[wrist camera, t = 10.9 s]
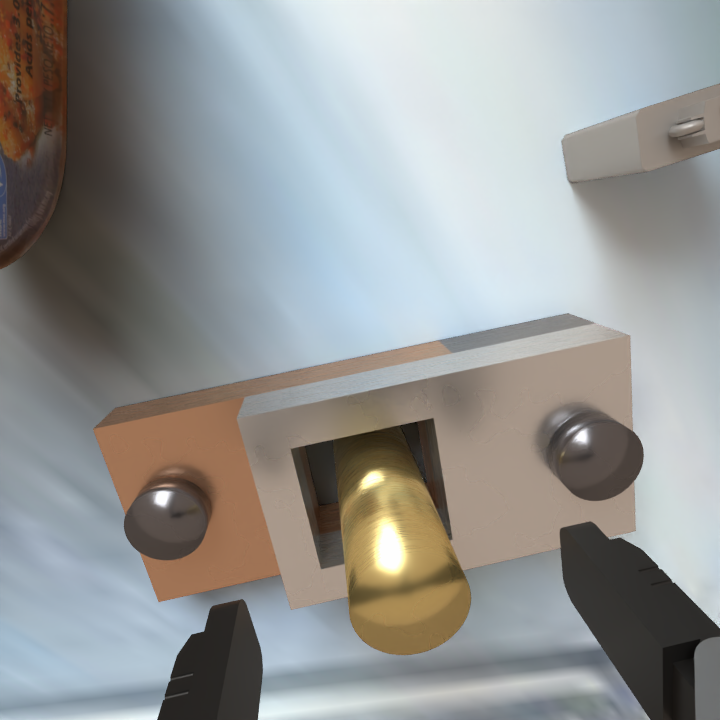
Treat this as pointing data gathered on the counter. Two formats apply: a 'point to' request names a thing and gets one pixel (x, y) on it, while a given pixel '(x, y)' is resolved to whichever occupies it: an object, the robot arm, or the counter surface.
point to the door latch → (369, 413)
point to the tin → (31, 119)
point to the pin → (395, 548)
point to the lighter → (645, 138)
